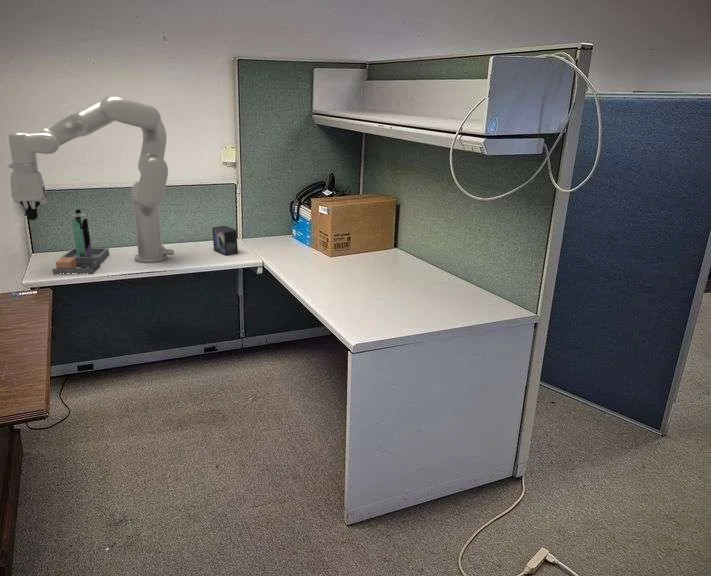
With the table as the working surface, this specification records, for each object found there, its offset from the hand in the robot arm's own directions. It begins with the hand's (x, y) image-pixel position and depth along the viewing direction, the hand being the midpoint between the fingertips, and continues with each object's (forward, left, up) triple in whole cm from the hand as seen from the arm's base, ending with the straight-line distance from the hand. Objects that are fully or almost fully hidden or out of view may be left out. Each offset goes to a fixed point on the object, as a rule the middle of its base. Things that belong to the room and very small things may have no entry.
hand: (33, 219), depth 200 cm
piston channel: (-12, 0, -20) cm, 23 cm away
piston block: (-9, 0, -20) cm, 22 cm away
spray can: (-11, -14, -19) cm, 27 cm away
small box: (-65, -24, -20) cm, 73 cm away
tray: (-11, -14, -20) cm, 27 cm away
